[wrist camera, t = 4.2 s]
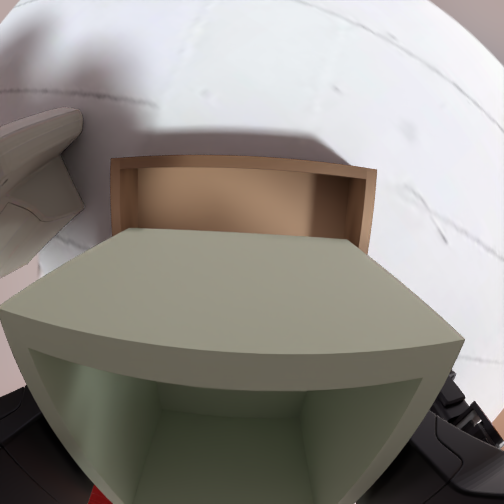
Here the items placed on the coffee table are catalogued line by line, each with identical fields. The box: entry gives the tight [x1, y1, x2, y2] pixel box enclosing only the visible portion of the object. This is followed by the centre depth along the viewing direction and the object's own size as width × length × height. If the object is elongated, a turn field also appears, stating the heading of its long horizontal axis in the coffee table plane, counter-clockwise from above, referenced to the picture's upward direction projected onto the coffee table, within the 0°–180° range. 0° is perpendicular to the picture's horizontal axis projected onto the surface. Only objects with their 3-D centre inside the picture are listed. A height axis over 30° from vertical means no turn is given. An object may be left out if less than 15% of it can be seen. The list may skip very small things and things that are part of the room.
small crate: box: [0, 228, 465, 504], centre depth 6 cm, size 7×6×5 cm
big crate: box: [110, 155, 377, 254], centre depth 16 cm, size 12×14×3 cm
